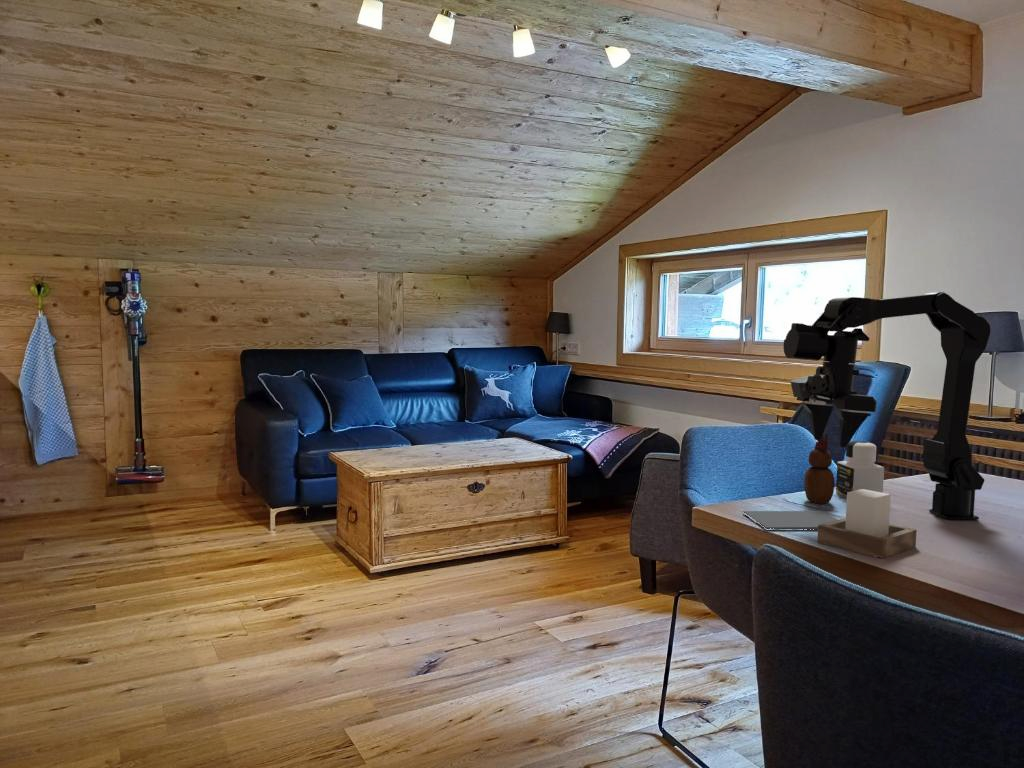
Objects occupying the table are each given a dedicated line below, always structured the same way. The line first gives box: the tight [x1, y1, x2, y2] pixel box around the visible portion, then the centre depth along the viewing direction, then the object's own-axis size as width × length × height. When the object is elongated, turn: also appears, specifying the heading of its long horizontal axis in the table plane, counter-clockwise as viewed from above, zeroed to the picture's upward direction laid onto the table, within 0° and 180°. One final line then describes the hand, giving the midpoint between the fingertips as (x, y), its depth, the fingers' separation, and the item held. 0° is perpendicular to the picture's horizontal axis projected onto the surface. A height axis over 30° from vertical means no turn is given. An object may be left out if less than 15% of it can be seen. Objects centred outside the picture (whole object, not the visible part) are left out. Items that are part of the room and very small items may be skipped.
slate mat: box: [742, 510, 839, 531], centre depth 147 cm, size 16×12×1 cm
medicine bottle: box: [835, 440, 885, 498], centre depth 170 cm, size 7×7×12 cm
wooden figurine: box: [803, 433, 835, 505], centre depth 163 cm, size 7×6×15 cm
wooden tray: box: [816, 517, 918, 559], centre depth 133 cm, size 11×11×3 cm
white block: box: [845, 489, 891, 538], centre depth 132 cm, size 5×5×9 cm
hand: (829, 443), depth 149 cm, fingers open, 9 cm apart
